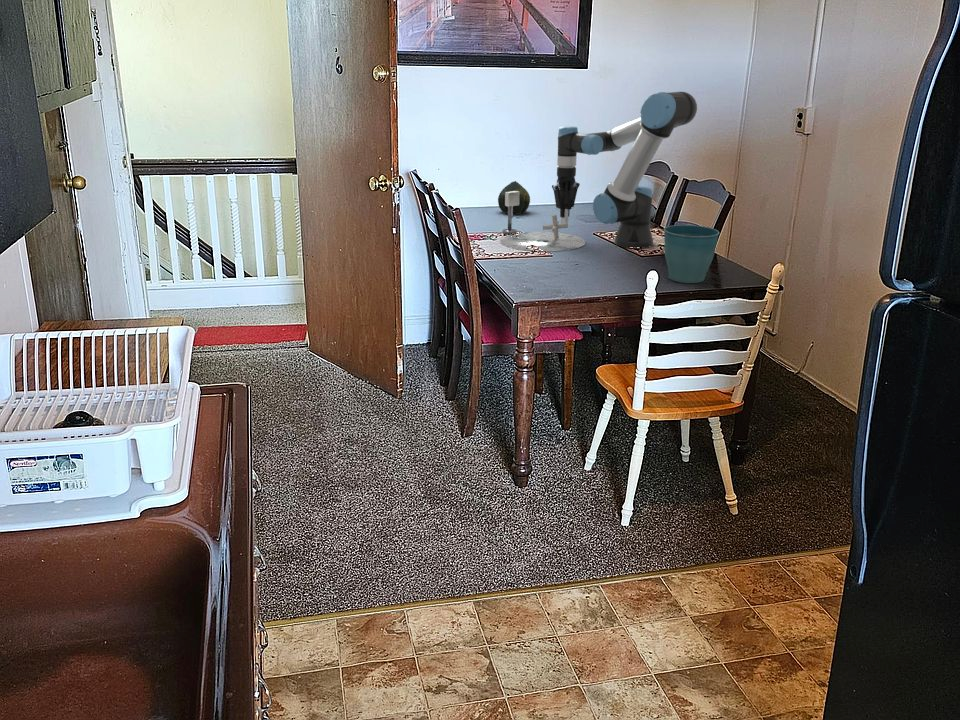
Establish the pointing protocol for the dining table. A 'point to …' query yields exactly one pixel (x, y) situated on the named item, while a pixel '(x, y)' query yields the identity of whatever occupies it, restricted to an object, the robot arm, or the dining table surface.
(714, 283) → the dining table surface
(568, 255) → the dining table surface
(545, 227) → the pipe connector
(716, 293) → the dining table surface
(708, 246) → the flower pot
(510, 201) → the block topped stand
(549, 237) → the disc
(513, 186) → the squash
